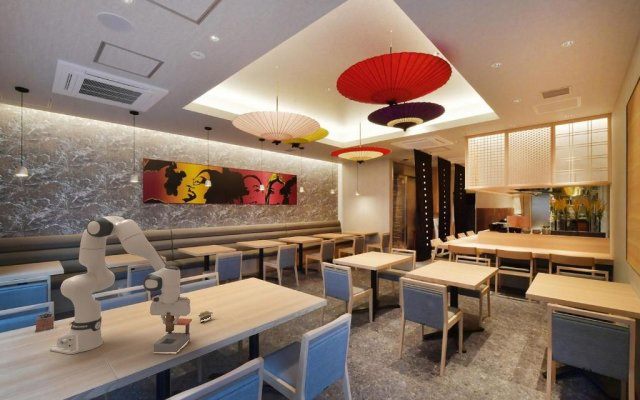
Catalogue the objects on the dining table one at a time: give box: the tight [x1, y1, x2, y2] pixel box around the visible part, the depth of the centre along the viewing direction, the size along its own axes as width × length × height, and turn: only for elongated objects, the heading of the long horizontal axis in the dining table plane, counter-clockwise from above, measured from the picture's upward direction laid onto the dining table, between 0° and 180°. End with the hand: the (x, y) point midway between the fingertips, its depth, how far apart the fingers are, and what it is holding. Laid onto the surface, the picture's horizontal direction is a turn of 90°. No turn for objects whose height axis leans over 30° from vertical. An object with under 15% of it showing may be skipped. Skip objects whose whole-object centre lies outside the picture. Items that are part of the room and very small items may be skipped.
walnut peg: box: [165, 312, 175, 333], centre depth 151 cm, size 4×4×10 cm
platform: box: [197, 310, 214, 322], centre depth 192 cm, size 12×18×7 cm, turn 147°
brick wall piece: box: [35, 312, 55, 333], centre depth 173 cm, size 8×3×10 cm, turn 135°
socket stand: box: [152, 317, 193, 352], centre depth 156 cm, size 12×16×12 cm
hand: (170, 323), depth 152 cm, fingers closed on walnut peg, 4 cm apart
